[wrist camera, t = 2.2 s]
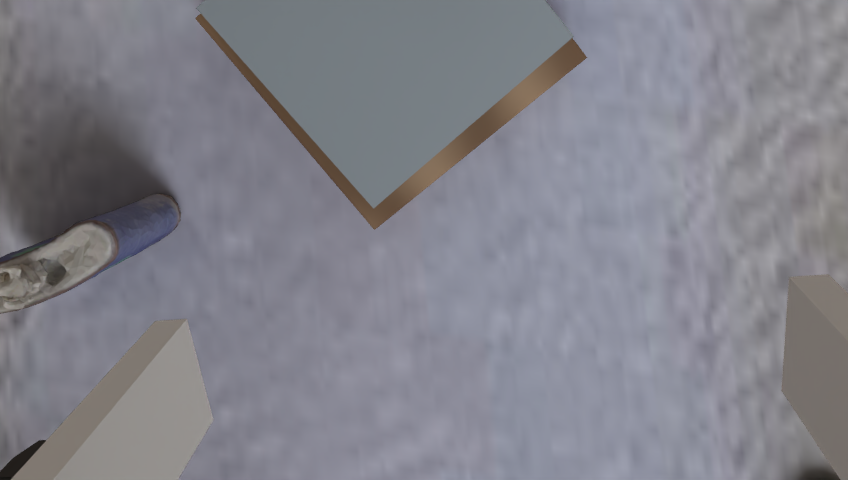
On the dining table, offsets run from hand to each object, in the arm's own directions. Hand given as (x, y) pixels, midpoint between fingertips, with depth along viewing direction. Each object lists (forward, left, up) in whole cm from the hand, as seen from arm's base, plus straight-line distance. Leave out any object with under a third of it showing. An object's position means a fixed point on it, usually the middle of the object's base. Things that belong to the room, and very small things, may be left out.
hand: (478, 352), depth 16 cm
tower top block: (+3, +9, -23) cm, 24 cm away
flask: (-18, +10, -26) cm, 33 cm away
